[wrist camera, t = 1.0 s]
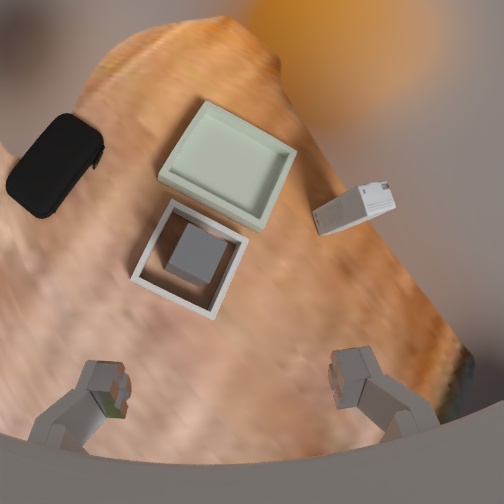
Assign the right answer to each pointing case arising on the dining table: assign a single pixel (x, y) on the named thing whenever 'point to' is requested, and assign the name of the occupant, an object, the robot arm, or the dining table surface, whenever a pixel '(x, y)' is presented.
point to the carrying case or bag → (54, 165)
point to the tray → (229, 166)
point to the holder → (209, 226)
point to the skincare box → (353, 207)
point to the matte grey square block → (196, 256)
